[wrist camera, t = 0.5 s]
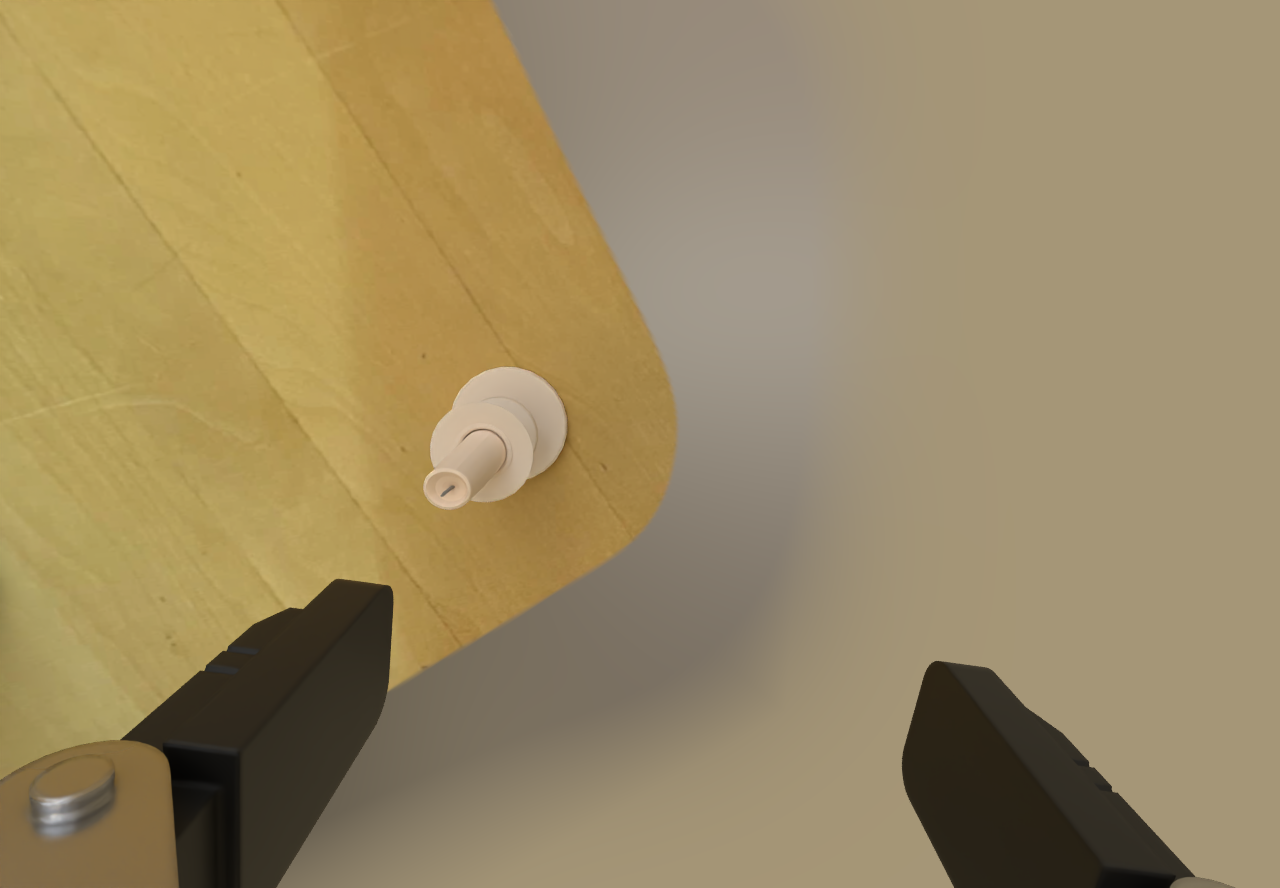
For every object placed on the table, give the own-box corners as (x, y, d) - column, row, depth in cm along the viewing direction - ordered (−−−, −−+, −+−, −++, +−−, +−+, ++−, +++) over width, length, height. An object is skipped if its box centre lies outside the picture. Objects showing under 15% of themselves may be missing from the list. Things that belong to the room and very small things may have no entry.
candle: (585, 455, 30) (554, 542, 20) (482, 494, 31) (401, 598, 20) (540, 348, 29) (483, 383, 19) (433, 390, 29) (322, 447, 19)
